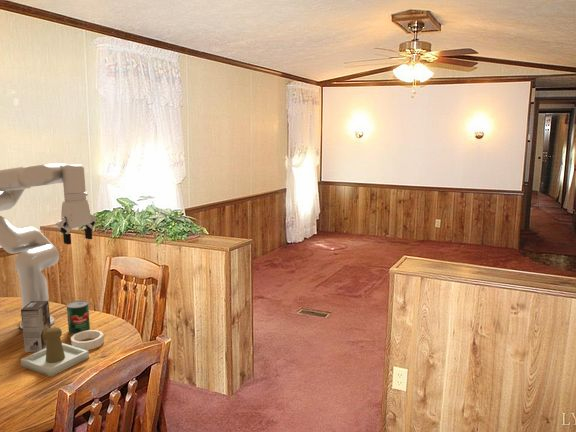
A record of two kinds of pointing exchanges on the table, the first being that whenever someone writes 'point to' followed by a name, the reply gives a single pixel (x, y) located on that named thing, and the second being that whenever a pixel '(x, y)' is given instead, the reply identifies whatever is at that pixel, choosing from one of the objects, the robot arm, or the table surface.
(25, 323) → the coffee box
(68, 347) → the tray
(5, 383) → the table surface
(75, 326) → the canned tomato
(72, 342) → the collar
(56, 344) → the cork
